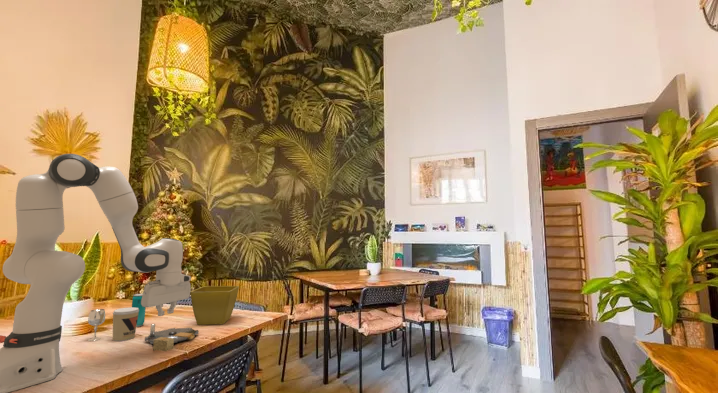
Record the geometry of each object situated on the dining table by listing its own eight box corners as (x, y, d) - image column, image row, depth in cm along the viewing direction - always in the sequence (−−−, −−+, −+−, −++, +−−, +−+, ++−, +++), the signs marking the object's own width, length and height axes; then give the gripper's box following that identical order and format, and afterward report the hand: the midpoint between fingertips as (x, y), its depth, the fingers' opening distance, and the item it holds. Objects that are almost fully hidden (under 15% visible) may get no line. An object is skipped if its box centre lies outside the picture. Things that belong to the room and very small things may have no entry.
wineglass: (104, 339, 139) (107, 310, 141) (87, 342, 135) (90, 312, 137) (101, 336, 143) (104, 308, 145) (84, 339, 139) (87, 310, 140)
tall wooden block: (166, 351, 126) (167, 340, 127) (152, 350, 127) (153, 339, 128) (173, 348, 130) (173, 337, 130) (160, 347, 131) (160, 336, 131)
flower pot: (201, 317, 178) (203, 285, 180) (237, 316, 180) (239, 285, 182) (187, 327, 159) (189, 291, 161) (227, 326, 161) (229, 291, 163)
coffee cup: (123, 342, 136) (125, 312, 137) (104, 340, 137) (107, 311, 139) (142, 335, 145) (144, 307, 146) (124, 334, 147) (126, 306, 148)
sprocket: (200, 339, 138) (201, 324, 139) (144, 347, 127) (145, 331, 128) (195, 327, 155) (196, 314, 156) (145, 333, 144) (146, 319, 145)
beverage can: (146, 325, 161) (149, 294, 162) (133, 328, 156) (136, 296, 158) (140, 323, 164) (143, 293, 165) (127, 326, 159) (130, 294, 161)
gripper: (151, 282, 121) (148, 321, 119) (194, 276, 140) (191, 309, 139) (138, 281, 123) (135, 320, 121) (182, 275, 142) (179, 308, 141)
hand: (165, 314), depth 130 cm, fingers open, 3 cm apart
